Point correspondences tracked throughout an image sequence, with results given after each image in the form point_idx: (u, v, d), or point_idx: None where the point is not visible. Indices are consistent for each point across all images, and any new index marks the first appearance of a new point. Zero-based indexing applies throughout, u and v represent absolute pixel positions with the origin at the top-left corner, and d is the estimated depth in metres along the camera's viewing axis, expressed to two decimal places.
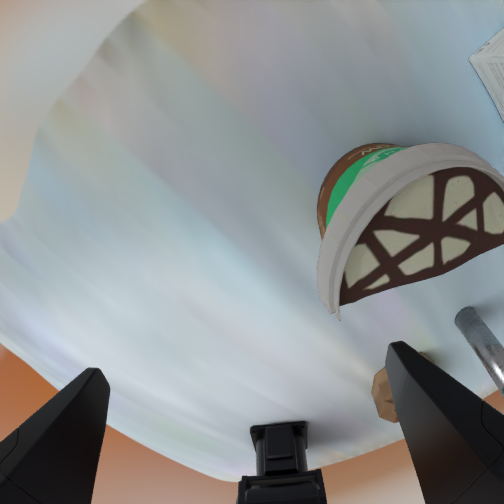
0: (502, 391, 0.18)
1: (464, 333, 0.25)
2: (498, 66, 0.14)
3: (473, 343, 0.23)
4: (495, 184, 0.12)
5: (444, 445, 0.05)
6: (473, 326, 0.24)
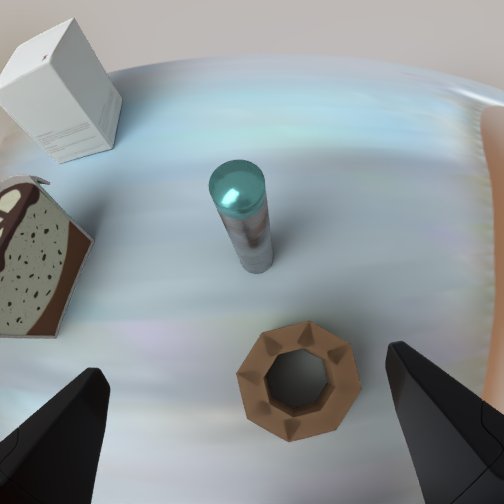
0: (235, 217, 0.14)
1: (247, 264, 0.22)
2: (47, 147, 0.26)
3: (240, 255, 0.20)
4: None
5: (444, 445, 0.05)
6: None
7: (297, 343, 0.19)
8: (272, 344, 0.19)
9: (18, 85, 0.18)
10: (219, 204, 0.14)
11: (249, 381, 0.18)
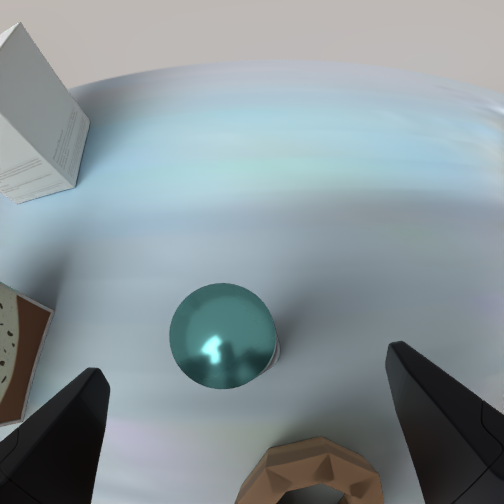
0: None
1: None
2: None
3: None
4: None
5: (444, 445, 0.05)
6: None
7: (311, 479, 0.12)
8: (279, 480, 0.12)
9: None
10: (190, 376, 0.07)
11: None
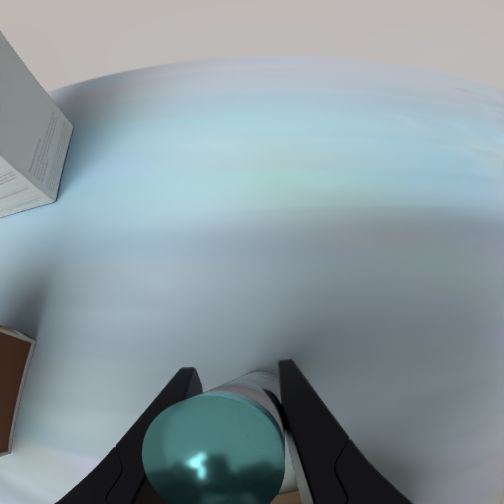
0: None
1: None
2: None
3: None
4: None
5: (301, 478, 0.05)
6: None
7: None
8: None
9: None
10: None
11: None
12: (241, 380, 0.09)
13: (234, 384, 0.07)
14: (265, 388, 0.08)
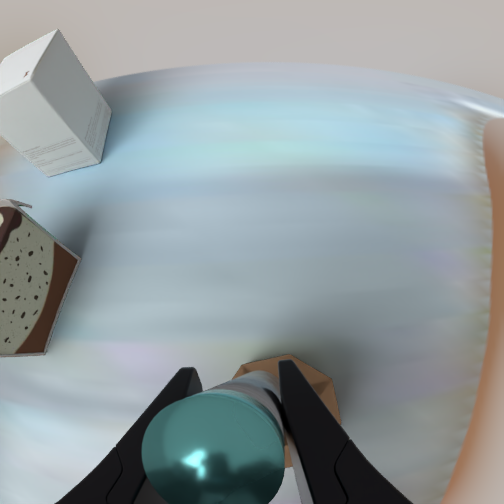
0: None
1: None
2: (35, 161, 0.26)
3: None
4: None
5: (301, 478, 0.05)
6: None
7: (277, 376, 0.18)
8: None
9: (2, 102, 0.17)
10: (172, 503, 0.04)
11: None
12: (241, 379, 0.09)
13: (234, 383, 0.07)
14: (265, 387, 0.08)
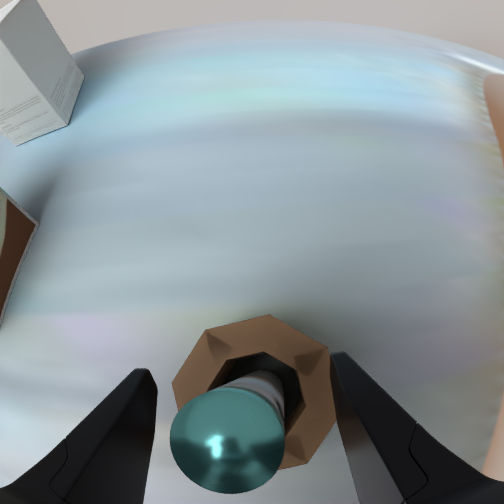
0: None
1: None
2: (2, 126, 0.21)
3: None
4: None
5: (371, 466, 0.05)
6: None
7: (252, 345, 0.14)
8: (218, 346, 0.14)
9: None
10: (194, 480, 0.06)
11: (188, 394, 0.13)
12: (246, 378, 0.10)
13: (241, 381, 0.09)
14: (267, 384, 0.10)
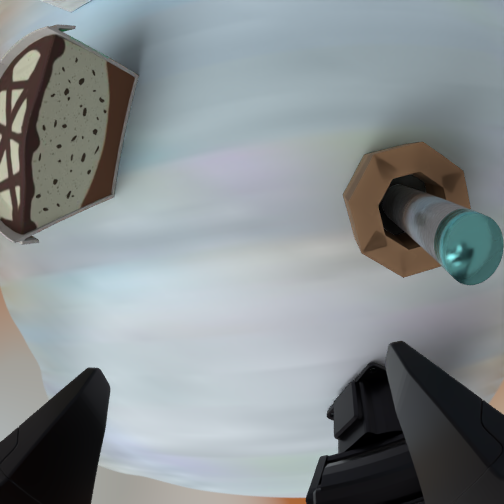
0: None
1: None
2: None
3: (405, 231, 0.16)
4: (9, 66, 0.12)
5: (444, 445, 0.05)
6: (391, 211, 0.17)
7: (411, 166, 0.15)
8: (386, 167, 0.15)
9: None
10: (455, 278, 0.09)
11: (363, 210, 0.16)
12: (434, 197, 0.12)
13: (447, 202, 0.11)
14: None
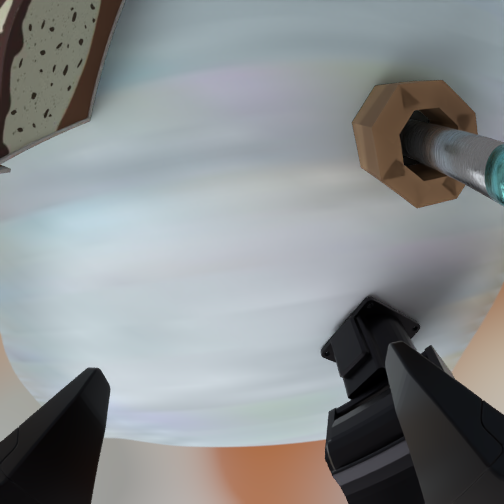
0: (498, 200, 0.10)
1: (412, 158, 0.17)
2: None
3: (423, 162, 0.15)
4: None
5: (444, 445, 0.05)
6: (407, 142, 0.16)
7: (432, 101, 0.14)
8: (409, 98, 0.14)
9: None
10: None
11: (385, 138, 0.15)
12: None
13: None
14: None
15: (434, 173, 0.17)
